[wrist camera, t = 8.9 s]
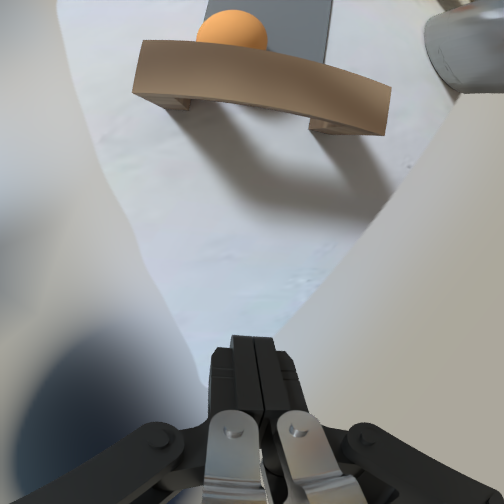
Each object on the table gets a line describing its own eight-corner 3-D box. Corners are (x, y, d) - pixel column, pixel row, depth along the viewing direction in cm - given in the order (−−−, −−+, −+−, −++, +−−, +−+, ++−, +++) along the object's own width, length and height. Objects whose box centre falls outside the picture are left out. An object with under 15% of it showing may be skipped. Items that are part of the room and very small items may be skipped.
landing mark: (318, 84, 21) (319, 84, 20) (194, 63, 19) (194, 62, 19) (331, -9, 17) (332, -10, 17) (218, -31, 16) (218, -32, 16)
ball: (231, 39, 20) (237, -7, 15) (274, 68, 20) (289, 20, 15) (182, 63, 19) (181, 12, 14) (226, 95, 18) (233, 42, 14)
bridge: (331, 134, 22) (384, 135, 14) (164, 108, 20) (132, 92, 12) (336, 100, 21) (391, 87, 13) (170, 73, 19) (143, 40, 11)
